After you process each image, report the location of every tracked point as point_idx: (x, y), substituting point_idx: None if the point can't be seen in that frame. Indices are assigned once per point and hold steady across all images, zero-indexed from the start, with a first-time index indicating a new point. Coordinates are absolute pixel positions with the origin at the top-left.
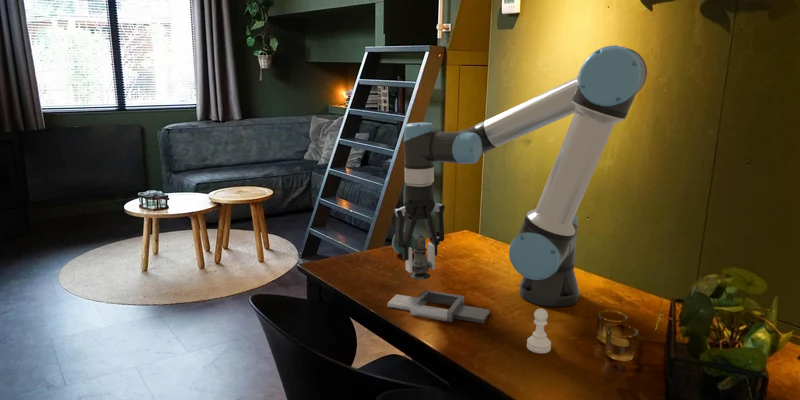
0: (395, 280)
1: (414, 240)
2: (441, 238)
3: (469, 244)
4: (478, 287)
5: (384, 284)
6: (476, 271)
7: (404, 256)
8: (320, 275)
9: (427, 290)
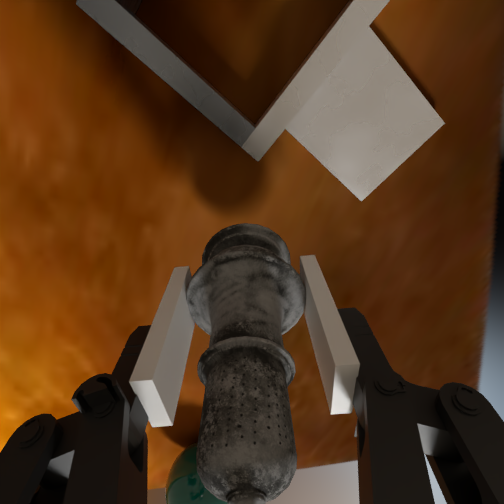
0: None
1: (175, 487)
2: (33, 444)
3: None
4: (15, 202)
5: (339, 307)
6: (16, 324)
7: (368, 327)
8: None
9: (249, 151)
